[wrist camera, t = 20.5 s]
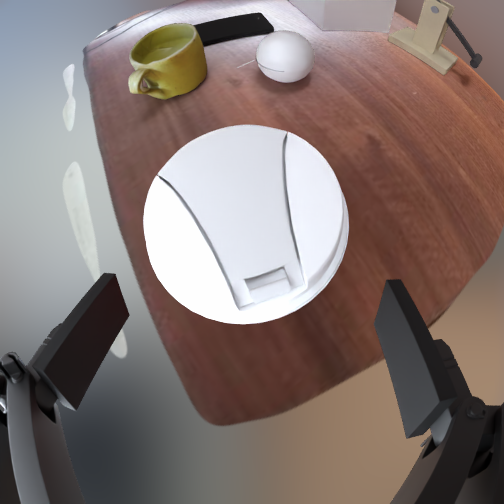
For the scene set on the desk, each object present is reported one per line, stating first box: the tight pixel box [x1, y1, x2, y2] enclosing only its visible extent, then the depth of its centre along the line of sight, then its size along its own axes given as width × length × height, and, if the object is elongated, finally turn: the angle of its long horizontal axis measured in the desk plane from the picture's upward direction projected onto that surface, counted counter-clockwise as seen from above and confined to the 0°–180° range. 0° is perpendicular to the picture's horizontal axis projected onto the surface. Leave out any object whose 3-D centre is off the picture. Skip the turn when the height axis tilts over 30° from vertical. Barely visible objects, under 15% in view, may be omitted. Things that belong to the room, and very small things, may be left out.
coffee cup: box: [144, 125, 349, 324], centre depth 17 cm, size 8×8×15 cm
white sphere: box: [237, 31, 315, 83], centre depth 28 cm, size 10×7×7 cm
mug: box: [128, 23, 207, 99], centre depth 29 cm, size 12×10×10 cm
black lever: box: [436, 0, 482, 68], centre depth 24 cm, size 13×6×2 cm, turn 45°
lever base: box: [388, 0, 458, 75], centre depth 27 cm, size 12×10×13 cm
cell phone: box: [193, 13, 274, 45], centre depth 36 cm, size 9×18×1 cm, turn 104°
